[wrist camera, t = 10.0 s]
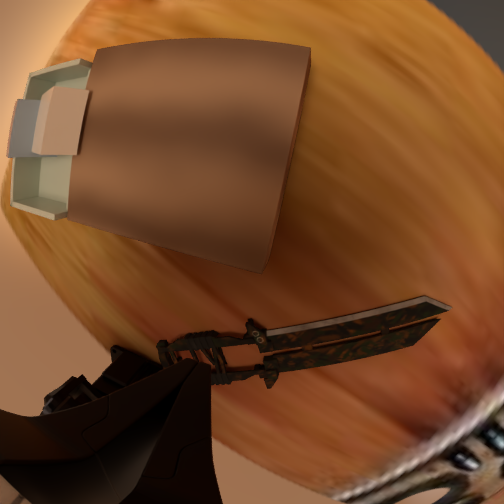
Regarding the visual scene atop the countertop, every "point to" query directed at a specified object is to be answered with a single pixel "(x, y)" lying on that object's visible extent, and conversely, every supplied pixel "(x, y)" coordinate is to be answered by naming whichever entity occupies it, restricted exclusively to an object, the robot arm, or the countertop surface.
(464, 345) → the countertop surface
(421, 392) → the countertop surface
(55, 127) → the cream block
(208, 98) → the board
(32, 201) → the tray
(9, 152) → the grey block
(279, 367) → the knife
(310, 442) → the countertop surface
